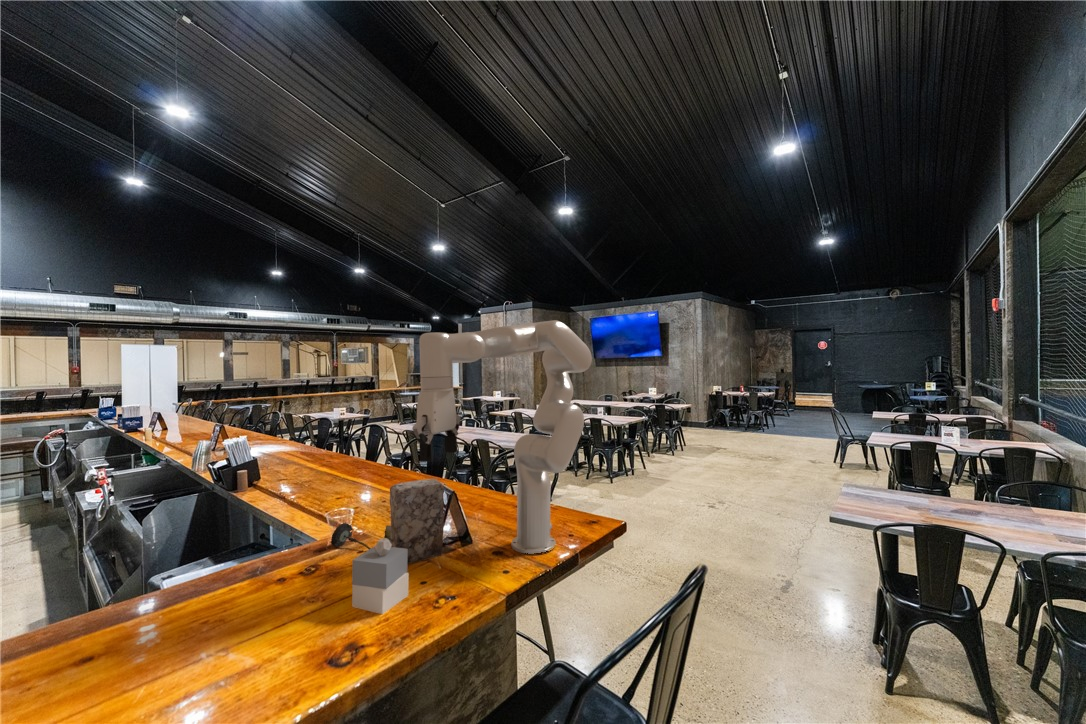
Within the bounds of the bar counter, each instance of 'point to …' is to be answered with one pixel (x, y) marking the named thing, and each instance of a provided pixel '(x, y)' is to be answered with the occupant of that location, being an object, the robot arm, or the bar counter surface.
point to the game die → (383, 547)
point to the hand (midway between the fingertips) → (439, 456)
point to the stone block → (417, 518)
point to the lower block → (380, 595)
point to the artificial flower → (344, 533)
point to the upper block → (379, 568)
